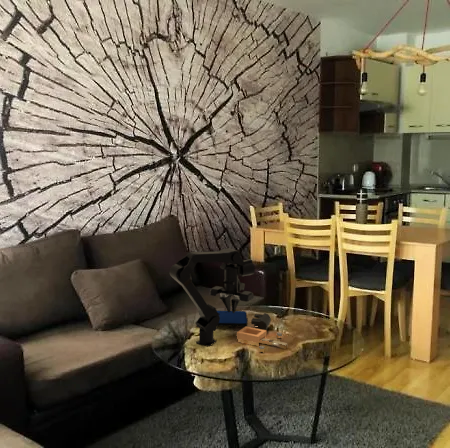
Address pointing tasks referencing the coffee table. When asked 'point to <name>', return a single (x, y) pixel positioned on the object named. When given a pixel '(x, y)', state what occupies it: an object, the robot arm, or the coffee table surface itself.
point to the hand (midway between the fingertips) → (231, 312)
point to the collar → (251, 334)
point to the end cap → (261, 321)
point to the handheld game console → (232, 318)
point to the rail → (272, 341)
